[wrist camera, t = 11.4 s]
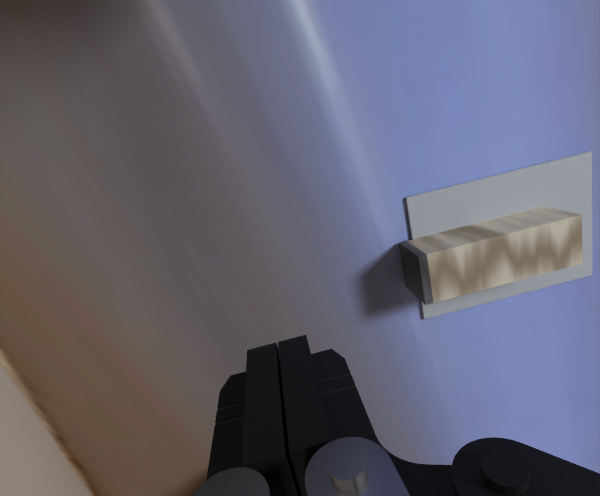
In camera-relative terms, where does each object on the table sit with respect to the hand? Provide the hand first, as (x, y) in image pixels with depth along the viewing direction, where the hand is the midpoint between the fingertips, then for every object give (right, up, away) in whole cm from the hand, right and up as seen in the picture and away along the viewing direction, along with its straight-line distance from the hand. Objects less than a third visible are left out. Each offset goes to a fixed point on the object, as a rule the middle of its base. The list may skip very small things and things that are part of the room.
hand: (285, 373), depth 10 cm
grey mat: (+22, +4, +32) cm, 39 cm away
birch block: (+12, +1, +28) cm, 31 cm away
